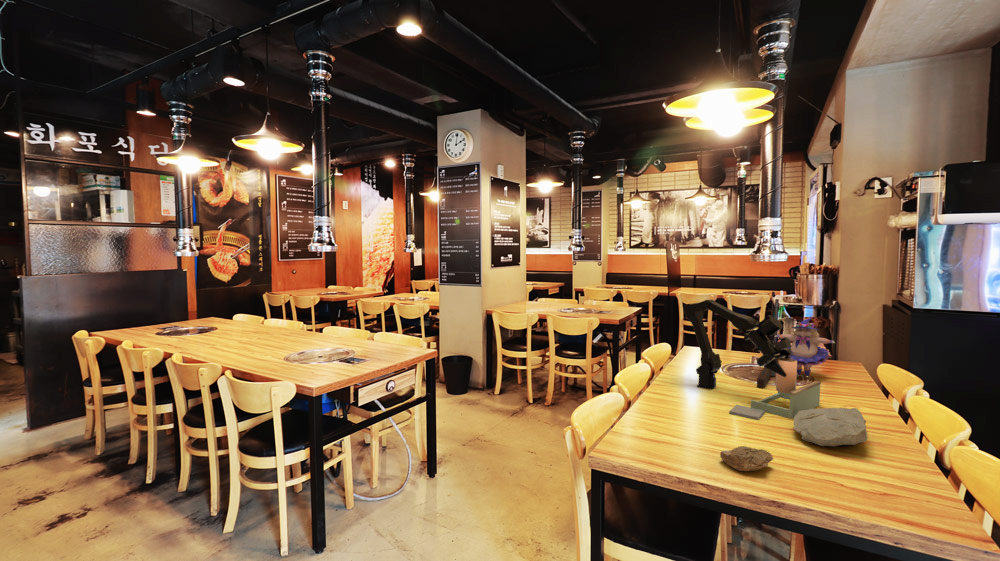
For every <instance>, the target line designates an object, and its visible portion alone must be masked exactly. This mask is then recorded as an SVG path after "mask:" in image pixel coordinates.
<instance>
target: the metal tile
mask: <svg viewBox="0 0 1000 561" xmlns="http://www.w3.org/2000/svg"><path fill="white" fill-rule="evenodd" d="M728 412H729V413H728V414H729V415H733V416H737V417H743V418H746V419H752V420H756V421H759V420H760V419H762V417H763V416H764V414H765V413H766V412H765V410H760V409H755V408H751V406H750V407H749V406H745V405H739V404H736V405H734V407H732V408H731V409H730V410H729V411H728Z"/></svg>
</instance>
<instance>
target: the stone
mask: <svg viewBox="0 0 1000 561" xmlns="http://www.w3.org/2000/svg"><path fill="white" fill-rule="evenodd" d="M866 422H867V420H866V419H865V418H864V416H863V414H862V412H861V410H859V409H858V407H857V408H856V407H852V408H847V407H825V408H822V407H821V408H814V409H813V408H811V409H808V410H802V411H798V413H797V414H796V415H795V417H794V419H793V429H794V431H796V432H797V433H798V434H800V436H801V440H803V441H806V442H809V443H812V444H815V445H818V446H821V447H837V446H838V447H839V446H842V445H843V446H844V445H848V446H849V445H850V446H851V445H853V446H855V445H857V444H859V443H865V442H866V441H867V440H868V437H869V436H868V431H867V425H866Z"/></svg>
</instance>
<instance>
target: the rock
mask: <svg viewBox="0 0 1000 561" xmlns="http://www.w3.org/2000/svg"><path fill="white" fill-rule="evenodd" d="M719 454H720V456H719V457H720V459H721V460H722V461H723V462H724V463H725V464H726V465H728V466H729V467H731V468H733V469H734V470H736V471H738V472H750V471H758V470H760V469H764V468H767V467H768V466H769V463H770V462H771V461H772V460H774V457H773V455H772V453H770V452H769V451H767V450H766V449H763V448H762V449H761V448H760V449H759V448H754V447H753V448H752V447H751V446H749V447H748V446H744V445H741V446H737V447H735V448H733V449H731V450H730V449H729V450H721V452H720V453H719Z"/></svg>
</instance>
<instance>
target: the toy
mask: <svg viewBox="0 0 1000 561" xmlns="http://www.w3.org/2000/svg"><path fill="white" fill-rule="evenodd" d="M811 320H812V317H809V318H806V319H804V320H802V321H797V326H793V327H792V326H791V327H790V328H792V329H795V331H793V333H791V334H789V333H788V334H786V333H785V334H784V333H782V334H776V335H774V338H777V339H778V338H779V339H781V338H785V337H787V338H788V339H789V340H790V341H791V346H792V347H788V349H790V350H791V351H792V352H793V353H792V354H791V356H790V359H794V360H797V376H796V377H799V376H802V371H804V374H805V376H808V377H810V374H811V373H812V372H811V371H812V370H811V368H812V367H814V366H819V365H823V364H824V363H826V362H827V359H829V357H830V356H829V350H827V349H825V348H821V347H822V346H821V347H820V345H821V344H824V345H827V344H836V342H835V340H833V339H831V340H830V339H829V338H828V339H827V338H825V337H820V333H818V330H819V328H815V324H814V323H812V322H810V321H811ZM782 349H783V348H782ZM784 349H786V348H784ZM802 367H803V368H802ZM798 375H799V376H798Z"/></svg>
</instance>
